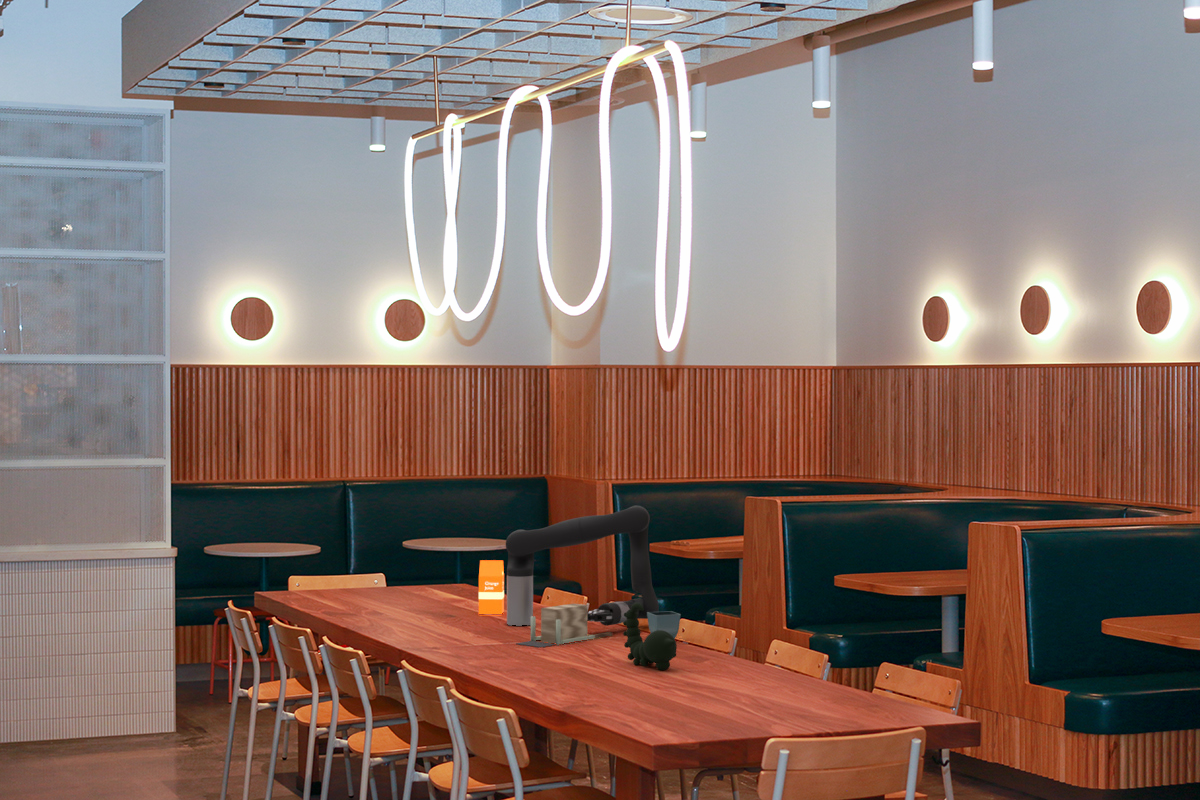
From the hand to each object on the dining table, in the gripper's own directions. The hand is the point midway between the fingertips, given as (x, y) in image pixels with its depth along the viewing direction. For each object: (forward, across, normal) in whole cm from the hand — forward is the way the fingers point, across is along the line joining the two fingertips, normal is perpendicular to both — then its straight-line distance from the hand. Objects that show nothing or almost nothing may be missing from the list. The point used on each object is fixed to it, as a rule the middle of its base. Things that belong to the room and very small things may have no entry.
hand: (580, 618), depth 453 cm
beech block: (+8, 0, +6) cm, 10 cm away
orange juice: (-22, -63, +6) cm, 67 cm away
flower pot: (-13, +25, +6) cm, 29 cm away
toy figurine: (+29, +53, +6) cm, 61 cm away
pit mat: (+21, 0, +6) cm, 22 cm away
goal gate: (+9, 0, +6) cm, 11 cm away
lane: (-5, 0, +6) cm, 8 cm away
